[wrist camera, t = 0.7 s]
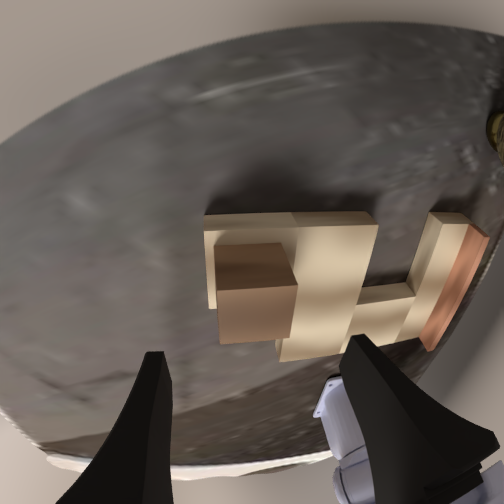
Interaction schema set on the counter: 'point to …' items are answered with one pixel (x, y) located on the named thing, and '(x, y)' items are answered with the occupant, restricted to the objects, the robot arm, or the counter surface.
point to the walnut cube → (254, 292)
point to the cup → (496, 133)
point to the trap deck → (356, 276)
